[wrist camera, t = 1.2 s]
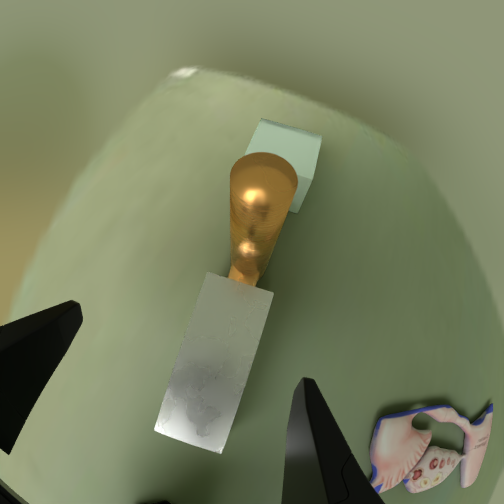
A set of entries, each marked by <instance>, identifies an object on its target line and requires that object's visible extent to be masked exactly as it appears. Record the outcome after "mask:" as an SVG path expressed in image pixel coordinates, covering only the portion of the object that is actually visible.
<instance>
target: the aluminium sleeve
mask: <svg viewBox="0 0 504 504" xmlns="http://www.w3.org/2000/svg"><path fill="white" fill-rule="evenodd" d="M273 295H274V293H273V292H270V291H267V290H263V289H260V288H257V287H254V286H251V285H248V284H244V283H241V282H238V281H235V280H232V279H229V278H226V277H223V276H220V275H217V274H214V273H211V272H208V271H207V274H206V277H205V280H204V282H203V285H202V288H201V290H200V293H199V296H198V299H197V302H196V304H195V307H194V310H193V313H192V316H191V318H190V321H189V324H188V327H187V330H186V333H185V336H184V339H183V341H182V344H181V347H180V350H179V353H178V356H177V359H176V362H175V365H174V368H173V371H172V374H171V377H170V381H169V384H168V387H167V390H166V393H165V396H164V399H163V403H162V406H161V409H160V412H159V415H158V419H157V422H156V425H155V429H154V430H155V431H157V432H160V433H162V434H165V435H167V436H170V437H172V438H175V439H178V440H180V441H183V442H186V443H189V444H192V445H194V446H197V447H201V448H204V449H207V450H210V451H213V452H217V453H220V454H222V451H223V449H224V446H225V443H226V440H227V437H228V435H229V432H230V429H231V426H232V423H233V420H234V417H235V414H236V412H237V409H238V406H239V403H240V400H241V397H242V394H243V391H244V388H245V385H246V382H247V379H248V376H249V373H250V370H251V366H252V363H253V360H254V357H255V354H256V351H257V348H258V344H259V341H260V338H261V335H262V332H263V328H264V325H265V322H266V319H267V315H268V312H269V309H270V305H271V302H272V299H273Z"/></svg>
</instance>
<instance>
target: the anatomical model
mask: <svg viewBox="0 0 504 504" xmlns="http://www.w3.org/2000/svg"><path fill="white" fill-rule="evenodd" d="M419 412H424V413H426V414H428V415H430V416H431V417H433V418H434V419H435V420H436V421H438V422H452V423H455V424H456V425H458V426H459V427H460V428H461V429H462V430H463V431H464V432H465V439H464V448H463V453H462V455H459V454H458V453H457V452H456V451H455V450H448V449H444V448H439V447H437V446H430V447H428V448H427V446H428V444H429V442H430V440H431V437H432V432H431V430H417V429H415V428H413V427H412V419H413V418H414V416H415V415H416V414H417V413H419ZM492 415H493V404H490V406H489V407H488V408H487V409H486V410H485V412H484V413H483V414H482V415H481V416H480V417H479V418H478V419H476V420H475V421H474V422H473V423H472V424H470V422H469V419H468V418H467V417H465V416H462V415H459V414H458V413H457V411H456V410H454V408H452V407H451V406H450V405H435V406H429V407H424V408H419V409H414V410H409V411H404V412H400V413H394V414H389V415H386V416H384V417H381V418H380V419H379V420H378V422H377V424H376V427H375V429H374V433H373V437H372V441H371V446H370V460H371V465H372V470H373V475H372V478H371V480H370V483H371V485H372V486H373V488H374V489H375V490H376V492H377V493H381V492H384V491H386V490H388V489H390V488H392V487H394V486H396V485H397V484H399V483H400V482H401V481H402V480H403V482H404V485H405V487H406V489H407V490H408V491H409V492H411V493H417V492H421V491H424V490H427V489H429V488H432V487H434V486H436V485H438V484H439V483H441V482H442V481H443V480H444V479H445V478H446V477H447V476H448V475H449V474H450V473H451V472H452V471H453V469H454V468H455V467H456V465H457V464H458V463H459V461H460V460H461V465H460V475H461V487H462V488H465V487H468V486H470V485H471V484H472V483H473V482H474V481H475V479H476V478H477V475H478V473H479V470H480V467H481V464H482V461H483V458H484V455H485V452H486V448H487V444H488V440H489V436H490V432H491V425H492ZM464 453H465V454H464Z"/></svg>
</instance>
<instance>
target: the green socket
mask: <svg viewBox="0 0 504 504" xmlns="http://www.w3.org/2000/svg"><path fill="white" fill-rule="evenodd" d="M321 140H322V136H320V135H317V134H314V133H311V132H308V131H305V130H302V129H298V128H295V127H292V126H288V125H285V124H281V123H278V122H274V121H270V120H266V119H262V118H261V120H260V122H259V124H258V127H257V129H256V131H255V133H254V135H253V137H252V140H251V142H250V144H249V146H248V148H247V151H246V153H245V155H248V154H251V153H255V152H268V153H273V154H276V155H278V156H280V157H282V158H284V159H285V160H287V161H288V162H289V163H290V164H291V165H292V166H293V168H294V169H295V171H296V173H297V177H298V186H297V190H296V192H295V195H294V198H293V200H292V203H291V206H290V208H289V211H290V212H293V213H297V214H298V211H299V209H300V207H301V205H302V203H303V200H304V198H305V196H306V194H307V191H308V189H309V187H310V185H311V182H312V180H313V176H314V172H315V167H316V163H317V158H318V154H319V149H320V145H321ZM245 155H244V156H245Z"/></svg>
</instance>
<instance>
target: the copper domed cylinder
mask: <svg viewBox="0 0 504 504" xmlns="http://www.w3.org/2000/svg"><path fill="white" fill-rule="evenodd" d="M297 186H298V177H297V173H296V171H295V169H294V168H293V166H292V165H291V164H290V163H289V162H288V161H287V160H285V159H284V158H282V157H280V156H278V155H276V154H273V153H268V152H255V153H251V154H248V155H245V156H243V157H242V158H240V159H239V160H238V161H237V162H236V163H235V164H234V166H233V167H232V170H231V173H230V239H231V269H230V272H229V275H228V278H229V279H232V280H235V281H238V282H241V283H244V284H248V285H251V286H254V287H255V286H256V283H257V281H258V280H259V279H260V278H261V277H262V276H263V274H264V272H265V270H266V267H267V265H268V262H269V260H270V257H271V254H272V252H273V249H274V247H275V244H276V242H277V239H278V237H279V234H280V231H281V229H282V226H283V224H284V221H285V219H286V216H287V213H288V211H289V208H290V206H291V203H292V200H293V198H294V195H295V192H296V190H297Z"/></svg>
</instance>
